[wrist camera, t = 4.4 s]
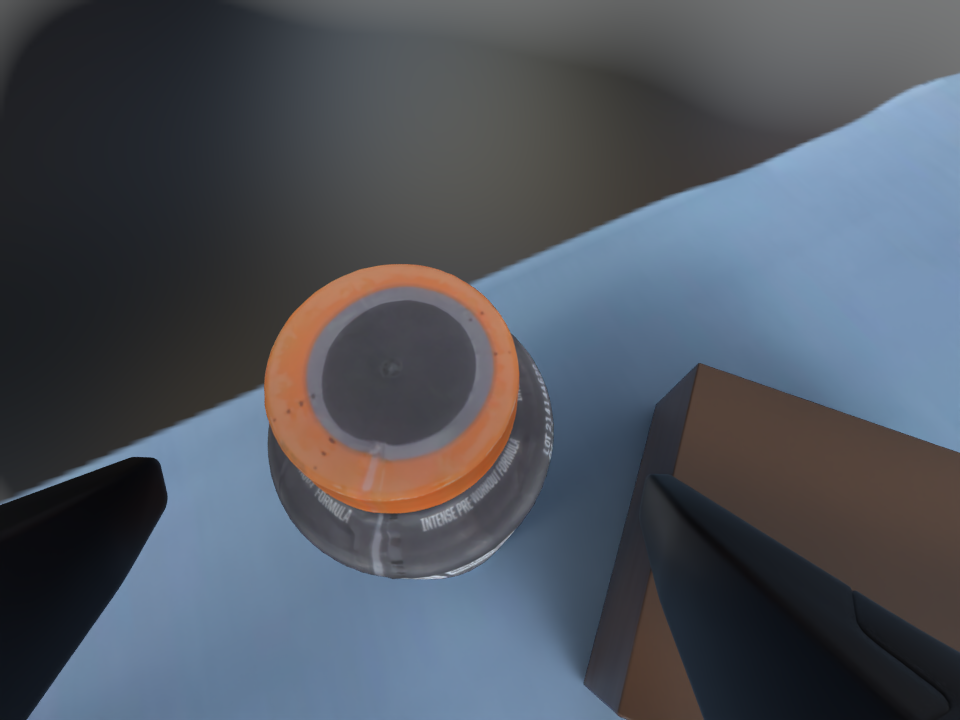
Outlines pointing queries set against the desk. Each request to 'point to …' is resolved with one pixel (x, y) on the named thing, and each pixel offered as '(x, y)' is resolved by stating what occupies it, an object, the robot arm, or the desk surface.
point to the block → (782, 521)
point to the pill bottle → (405, 423)
